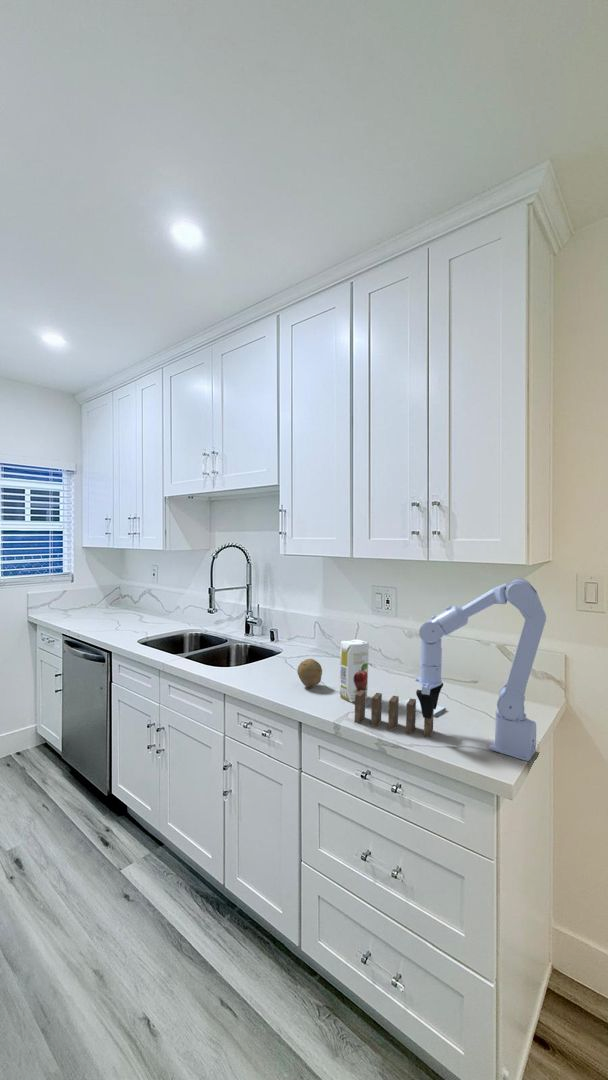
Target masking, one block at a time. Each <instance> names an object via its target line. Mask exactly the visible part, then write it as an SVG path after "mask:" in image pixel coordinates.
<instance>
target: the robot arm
mask: <svg viewBox="0 0 608 1080" xmlns="http://www.w3.org/2000/svg"><path fill="white" fill-rule="evenodd" d="M507 602H509V603H510V604H511V605H512V606H513V607H515V608H516V609H517V610H518V611H519V613H520V614H521V615H522V617H523V618H524V622H523V626H522V628H521V629H522V630H521V633H520V636H519V639H518V644H517V646H516V650H515V652H514V657H513V660H512V663H511V667H510V670H509V673H508V676H507V679H506V683H505V684H504V686H502V687H501V688H500V690H499V693H498V699H497V701H496V702H497V703H496V708H497V709H495V726H494V727H495V728H494V730H495V731H494V732H495V733H494V742H493V743H492V745H490V746H489V747H488V748H489V750H490V751H493V752H495V753H496V752H497V753H499V754H503V755H506V756H509V757H513V758H516V759H520V760H522V761H526V762H529V761H530V760H531V759H532V757H533V756H534V755H535V753H537V722H536V721H534V720H531V719H529V718H528V717H527V714H526V713H525V710H526V709H525V701H526V697H525V694H526V690H527V689H526V688H527V687H528V685H527V684H528V682H529V679H530V675H531V672H532V668H533V665H534V661H535V658H536V655H537V652H538V647H539V646H540V641H541V638H542V635H543V633H544V627H545V624H546V621H547V615H546V612H545V609H544V606H543V605H542V602H541V599H540V596H539V594H538V592H537V590H536V589H535V588H534V586H533V585H532V584H531V583H530V582H529V581H528V580H527V579H524V578H514V579H511V580H510V581H509V582H505V583H502V584H500V585H498V586H495V587H493V588H492V589H489V590H488V591H487V592H485V593H483V594H482V595H479V596H478V597H477V598H474V600H472V601H470V602H469V603H466V604H465V605H464V606H458V605H453V606H451V605H448V606H447V607H445V611H443V612H441V613H439V614H438V615H433V616H431V618H430V619H429V620H427V621H425V622H424V623H423V624H422V625H421V626H420V628H419V631H418V634H419V637H420V649H419V650H420V653H419V654H420V655H419V656H420V657H419V664H420V665H419V676H417V677H415V678H414V679H415V682H419V684H420V686H421V689H416V691H415V692H416V693H415V695H416V696H417V698H418V699H417V700H419V701H420V705H421V710H422V717H423V718H429V719H431V717H432V713H433V707H434V709H436V706H437V705H438V703H439V702H438V700H439V696H440V693H441V690H442V688H443V686H444V683H443V681H442V661H443V660H442V656H443V655H442V652H443V649H442V639H441V638H443V636H447V635H448V636H449V635H450V634H452V633H454V632H455V631H457V630H459V629H461V628H463V627H464V626H466V625H467V624H468V622H469V618H470V617H472V616H474V615H476V614H478V613H480V612H481V611H484V610H485V609H487V608H489V607H492V606H493V605H495V604H496V605H497V604H498V605H507Z"/></svg>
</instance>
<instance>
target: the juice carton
mask: <svg viewBox="0 0 608 1080" xmlns="http://www.w3.org/2000/svg"><path fill="white" fill-rule="evenodd" d="M369 644H370V643H369V642H367V641H365V640H361V639H352V640H341V642H340V656H339V658H340V659H339V661H340V662H339V697H340V698H341V699H343V700H345V701H347V702H349V703H355V695H356V694H357V693H358V692H359V691H360V690H364V691H366V696H365V700H367V699H368V690H369V689H368V687H369V685H368V683H369V649H370V648H369Z"/></svg>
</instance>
